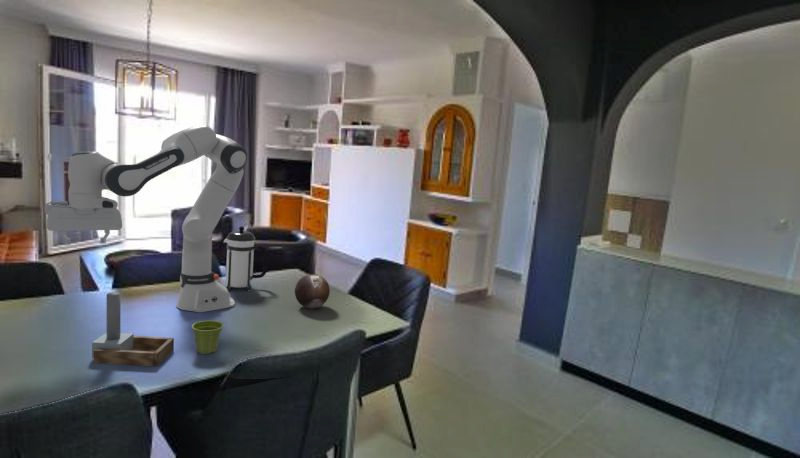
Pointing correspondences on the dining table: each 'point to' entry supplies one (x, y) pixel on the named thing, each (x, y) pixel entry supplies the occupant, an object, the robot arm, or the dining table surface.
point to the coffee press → (242, 259)
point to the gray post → (113, 328)
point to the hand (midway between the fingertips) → (85, 243)
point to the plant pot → (207, 335)
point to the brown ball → (312, 291)
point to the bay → (138, 352)
